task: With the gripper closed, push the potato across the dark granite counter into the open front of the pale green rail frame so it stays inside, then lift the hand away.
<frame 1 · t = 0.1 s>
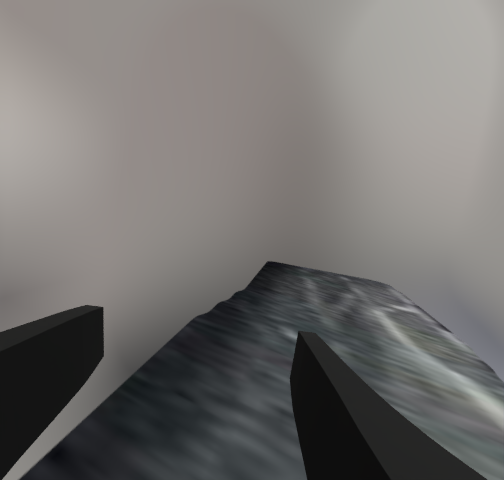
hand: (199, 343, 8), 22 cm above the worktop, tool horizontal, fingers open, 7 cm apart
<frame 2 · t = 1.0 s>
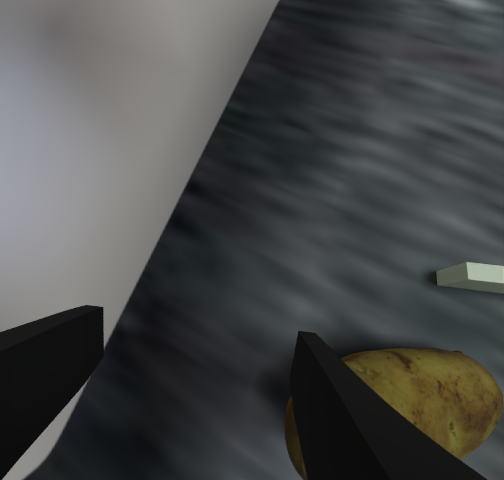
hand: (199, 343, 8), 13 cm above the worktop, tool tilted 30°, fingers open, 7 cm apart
potato: (370, 393, 18), on the worktop
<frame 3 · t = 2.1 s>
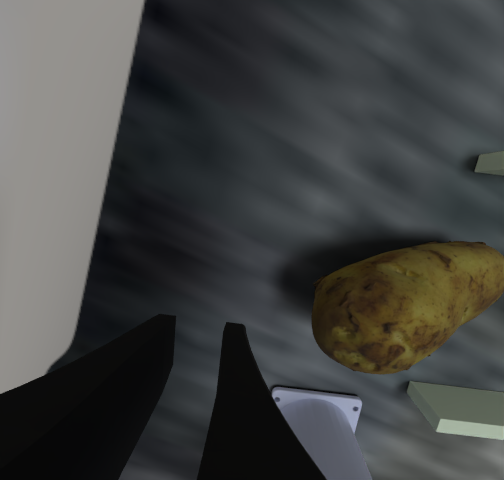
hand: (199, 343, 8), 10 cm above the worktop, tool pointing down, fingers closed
potato: (376, 277, 19), on the worktop
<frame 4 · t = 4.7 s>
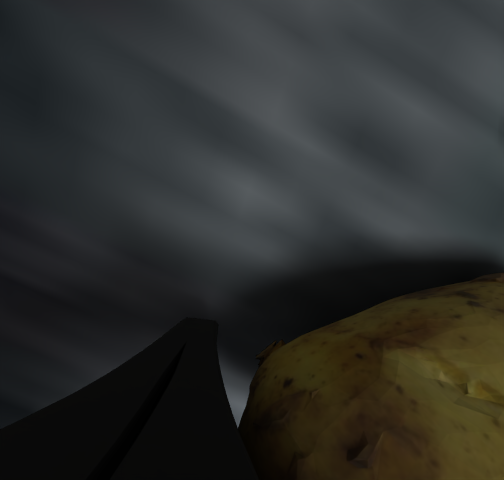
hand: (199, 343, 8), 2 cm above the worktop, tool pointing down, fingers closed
potato: (380, 325, 11), on the worktop, touching gripper
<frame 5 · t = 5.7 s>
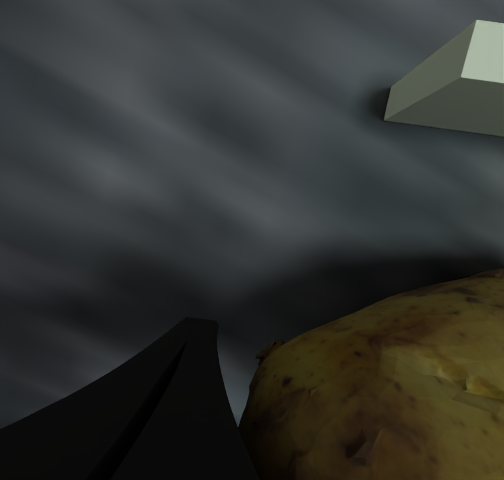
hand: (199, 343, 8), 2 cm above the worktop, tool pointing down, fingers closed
pale green rail frame: (483, 345, 11), on the worktop
potato: (380, 323, 11), on the worktop, touching gripper
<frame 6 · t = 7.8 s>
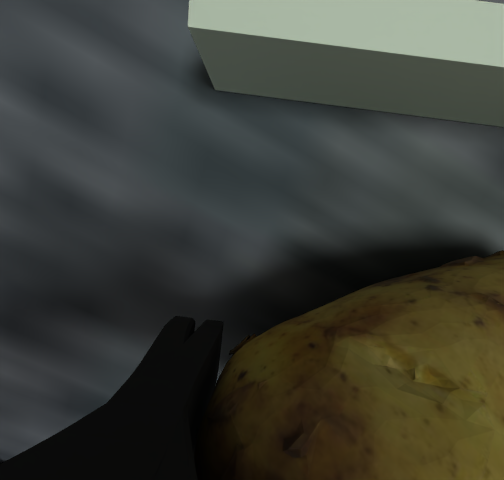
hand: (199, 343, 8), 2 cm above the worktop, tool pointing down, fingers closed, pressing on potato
pale green rail frame: (347, 324, 11), on the worktop
potato: (364, 316, 11), on the worktop, touching gripper, pale green rail frame
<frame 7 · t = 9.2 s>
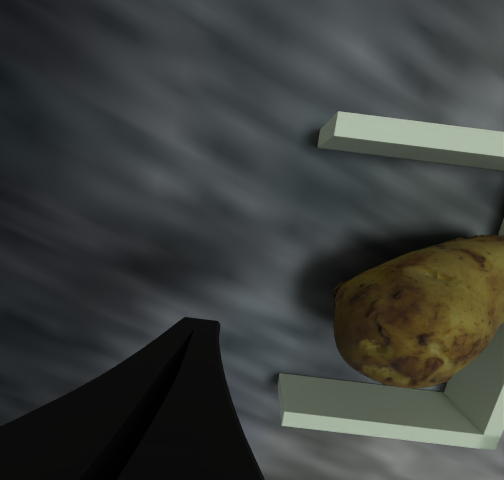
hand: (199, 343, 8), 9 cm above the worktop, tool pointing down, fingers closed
pale green rail frame: (387, 283, 18), on the worktop
potato: (396, 278, 18), on the worktop, touching pale green rail frame
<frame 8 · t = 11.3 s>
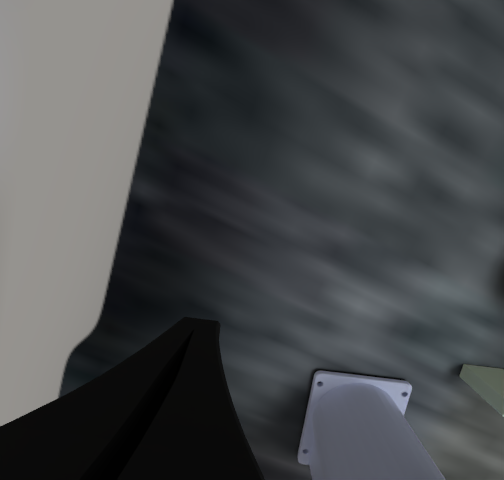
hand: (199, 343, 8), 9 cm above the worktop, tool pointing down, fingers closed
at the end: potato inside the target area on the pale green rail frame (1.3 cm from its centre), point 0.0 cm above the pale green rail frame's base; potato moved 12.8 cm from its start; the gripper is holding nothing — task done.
